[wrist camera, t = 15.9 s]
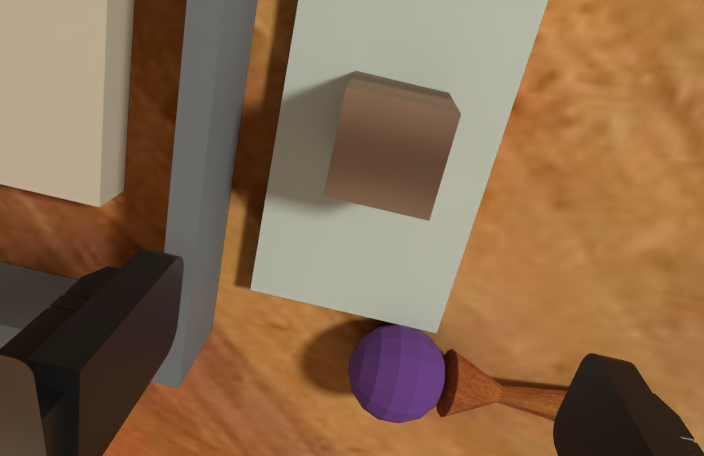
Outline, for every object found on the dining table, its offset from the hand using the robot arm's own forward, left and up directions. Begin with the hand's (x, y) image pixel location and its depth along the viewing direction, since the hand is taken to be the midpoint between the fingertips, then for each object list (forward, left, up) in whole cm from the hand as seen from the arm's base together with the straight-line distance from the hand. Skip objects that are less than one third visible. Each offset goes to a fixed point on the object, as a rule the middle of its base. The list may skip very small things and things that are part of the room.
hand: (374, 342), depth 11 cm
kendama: (+15, +11, -22) cm, 29 cm away
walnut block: (0, 0, -20) cm, 20 cm away
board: (0, 0, -22) cm, 22 cm away
